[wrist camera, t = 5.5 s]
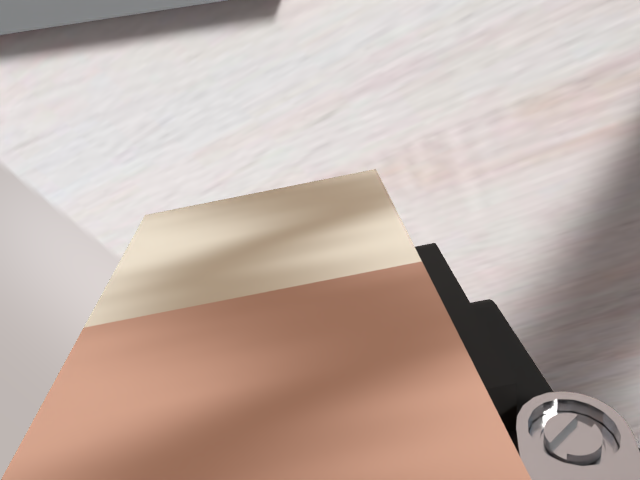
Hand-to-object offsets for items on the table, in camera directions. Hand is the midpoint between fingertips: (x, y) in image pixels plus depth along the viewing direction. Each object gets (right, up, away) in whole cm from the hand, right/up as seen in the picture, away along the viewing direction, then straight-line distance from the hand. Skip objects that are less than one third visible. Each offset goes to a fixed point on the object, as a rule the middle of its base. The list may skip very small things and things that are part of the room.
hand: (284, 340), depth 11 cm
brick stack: (0, +1, +2) cm, 2 cm away
